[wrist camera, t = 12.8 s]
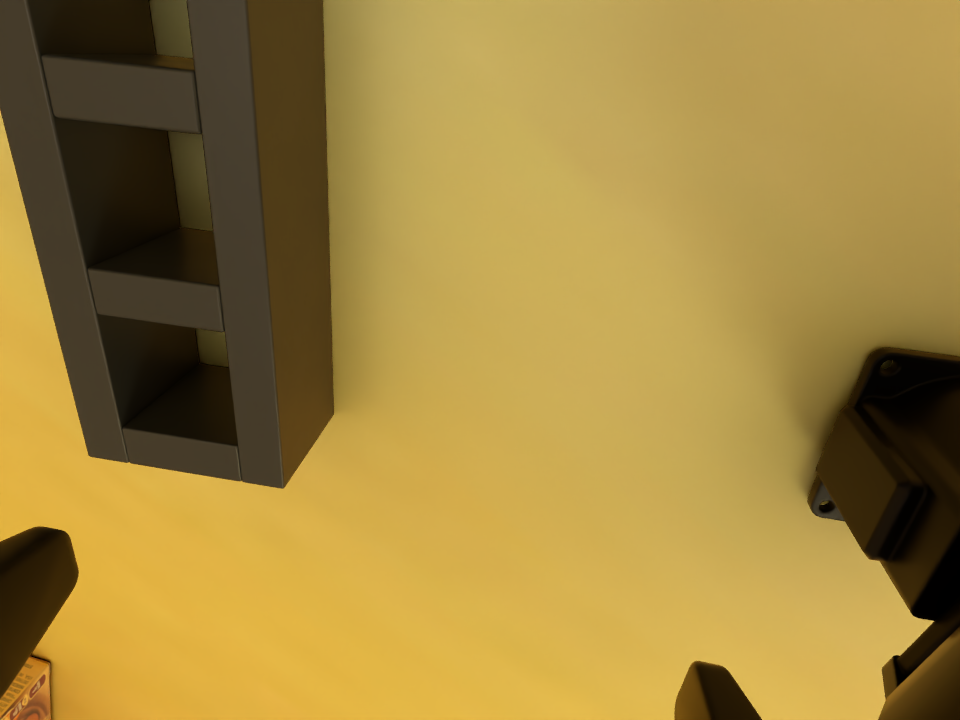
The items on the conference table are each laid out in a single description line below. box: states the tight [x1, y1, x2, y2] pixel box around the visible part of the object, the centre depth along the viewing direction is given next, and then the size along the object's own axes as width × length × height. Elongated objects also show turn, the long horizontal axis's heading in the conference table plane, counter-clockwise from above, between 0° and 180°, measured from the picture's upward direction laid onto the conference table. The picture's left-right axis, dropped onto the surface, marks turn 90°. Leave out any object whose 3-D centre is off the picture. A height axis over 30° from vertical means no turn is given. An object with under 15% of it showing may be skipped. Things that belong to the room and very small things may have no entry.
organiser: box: [0, 0, 334, 488], centre depth 17 cm, size 7×17×4 cm, turn 175°
